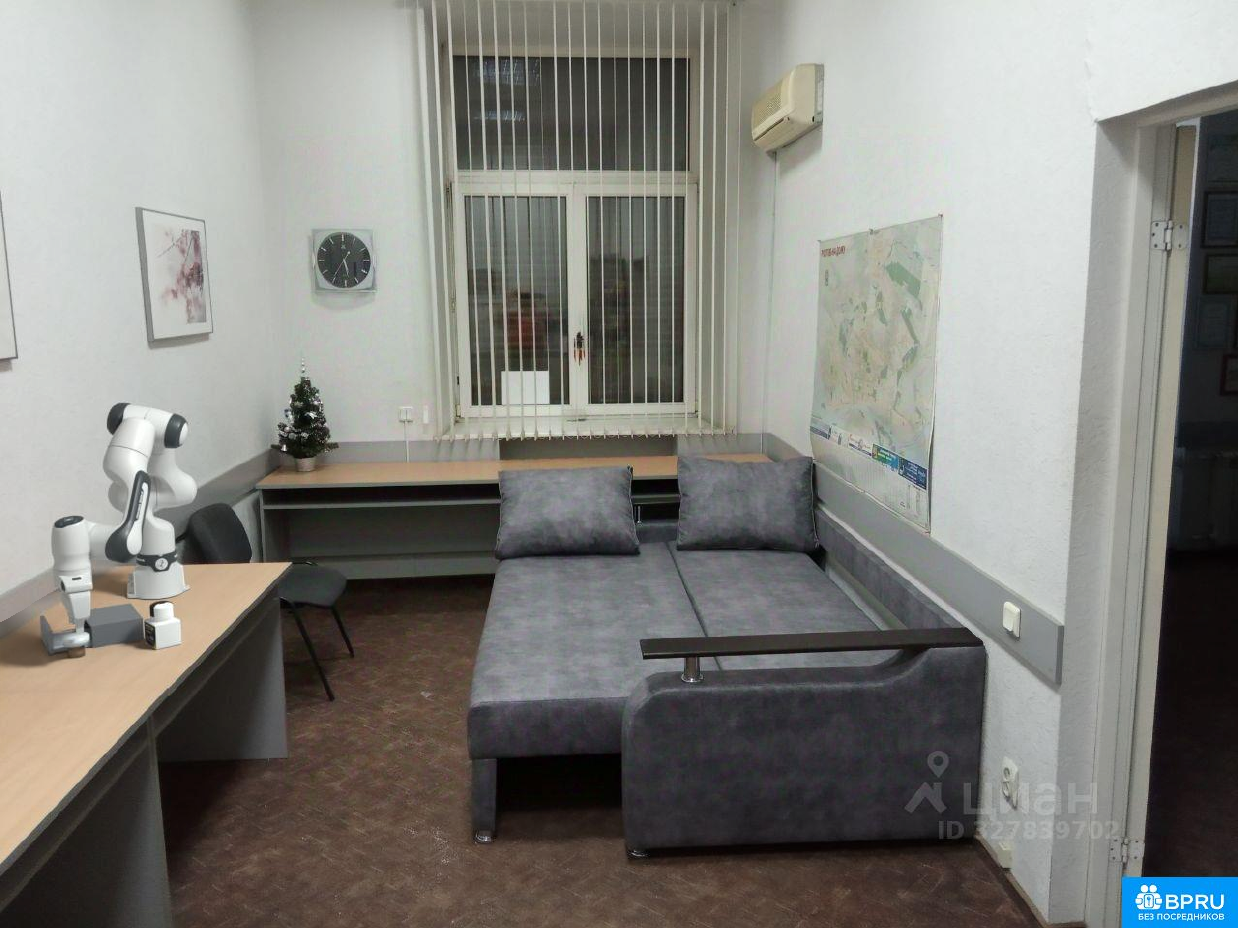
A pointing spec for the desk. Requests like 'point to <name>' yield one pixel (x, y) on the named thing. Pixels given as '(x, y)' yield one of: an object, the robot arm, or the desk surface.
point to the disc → (75, 639)
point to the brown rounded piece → (76, 652)
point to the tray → (57, 637)
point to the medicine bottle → (162, 626)
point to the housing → (115, 625)
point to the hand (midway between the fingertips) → (76, 628)
